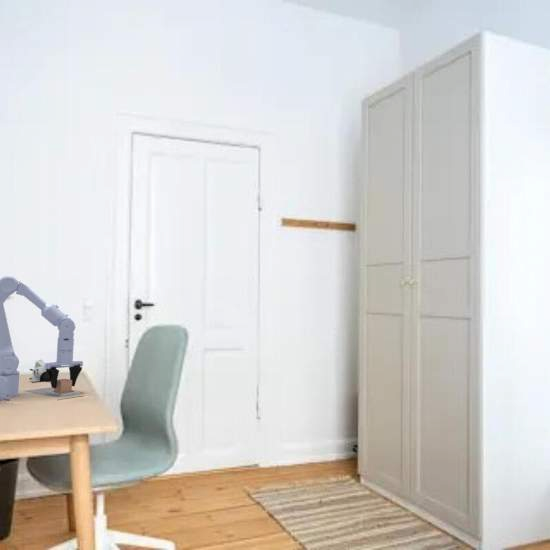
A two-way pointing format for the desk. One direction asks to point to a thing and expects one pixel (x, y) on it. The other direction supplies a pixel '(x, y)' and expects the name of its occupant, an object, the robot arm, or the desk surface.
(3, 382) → the robot arm
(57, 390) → the block
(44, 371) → the toy
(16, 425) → the desk surface
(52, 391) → the locating frame
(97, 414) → the desk surface
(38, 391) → the board
